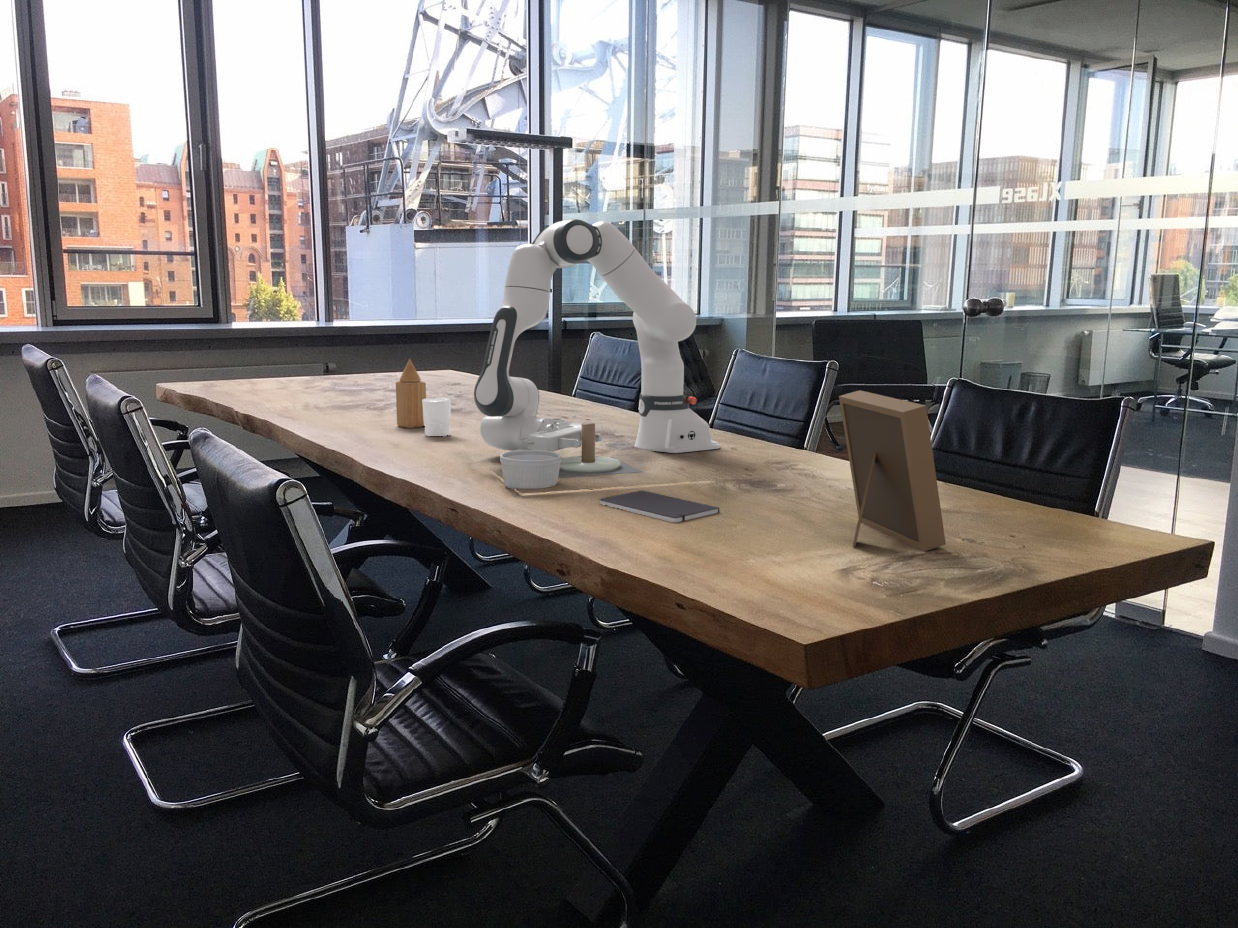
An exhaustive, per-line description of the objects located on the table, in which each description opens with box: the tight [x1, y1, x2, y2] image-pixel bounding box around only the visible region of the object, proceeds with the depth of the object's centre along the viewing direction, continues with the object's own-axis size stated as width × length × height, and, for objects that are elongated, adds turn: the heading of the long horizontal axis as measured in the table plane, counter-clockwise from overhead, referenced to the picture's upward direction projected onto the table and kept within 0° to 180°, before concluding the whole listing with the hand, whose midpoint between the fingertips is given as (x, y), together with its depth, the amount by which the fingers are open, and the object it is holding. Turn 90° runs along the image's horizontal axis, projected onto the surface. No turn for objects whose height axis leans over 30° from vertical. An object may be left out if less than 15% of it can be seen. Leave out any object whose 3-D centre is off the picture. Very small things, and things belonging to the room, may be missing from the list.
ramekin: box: [499, 450, 562, 491], centre depth 225 cm, size 13×13×7 cm
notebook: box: [599, 489, 720, 523], centre depth 206 cm, size 13×2×21 cm
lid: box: [560, 422, 621, 473], centre depth 244 cm, size 15×15×10 cm
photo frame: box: [838, 389, 947, 552], centre depth 184 cm, size 15×22×25 cm
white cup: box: [422, 397, 452, 437], centre depth 291 cm, size 8×8×10 cm
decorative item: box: [395, 358, 427, 429], centre depth 305 cm, size 7×7×20 cm
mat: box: [558, 456, 644, 478], centre depth 245 cm, size 20×20×1 cm
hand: (590, 440), depth 243 cm, fingers open, 8 cm apart
